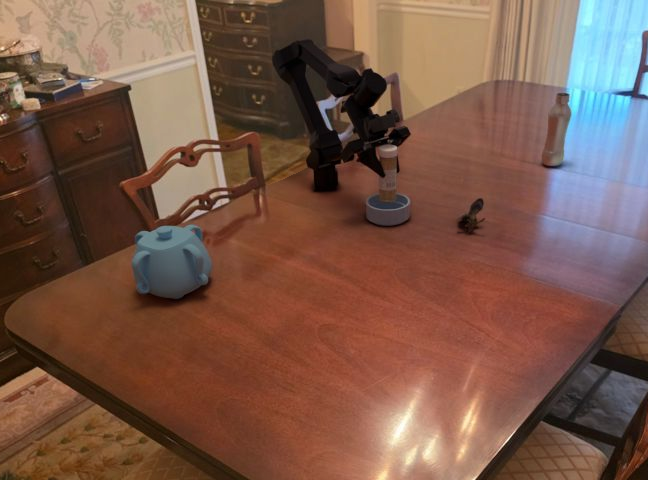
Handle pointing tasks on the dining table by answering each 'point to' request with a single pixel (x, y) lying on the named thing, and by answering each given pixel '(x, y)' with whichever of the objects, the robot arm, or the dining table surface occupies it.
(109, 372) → the dining table surface
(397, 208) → the bowl
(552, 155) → the plastic bottle
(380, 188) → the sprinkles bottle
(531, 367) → the dining table surface
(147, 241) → the decorative pot
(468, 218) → the eagle figurine
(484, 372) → the dining table surface
